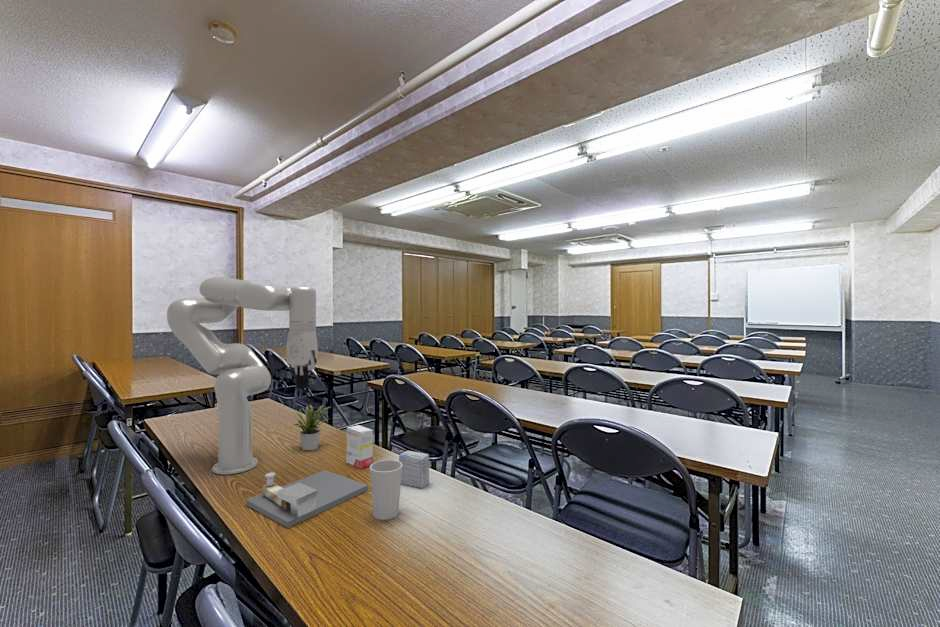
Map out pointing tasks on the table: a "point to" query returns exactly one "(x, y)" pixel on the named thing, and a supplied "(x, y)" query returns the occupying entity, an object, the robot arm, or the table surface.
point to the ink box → (359, 446)
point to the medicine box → (414, 468)
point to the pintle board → (329, 495)
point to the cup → (385, 488)
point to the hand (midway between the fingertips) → (302, 387)
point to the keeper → (299, 498)
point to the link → (275, 495)
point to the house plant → (310, 428)
